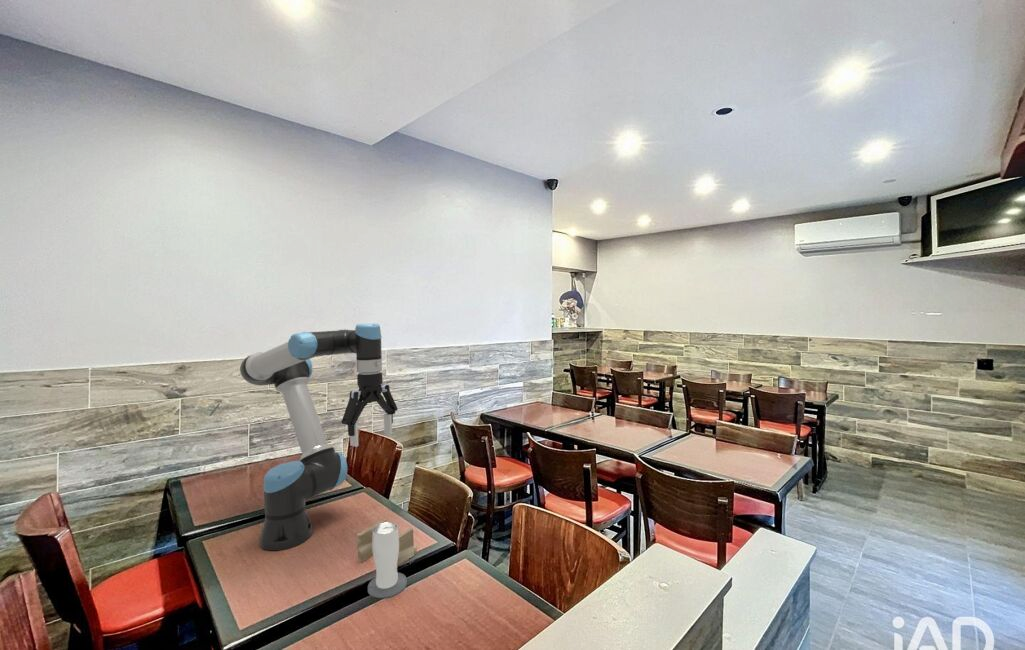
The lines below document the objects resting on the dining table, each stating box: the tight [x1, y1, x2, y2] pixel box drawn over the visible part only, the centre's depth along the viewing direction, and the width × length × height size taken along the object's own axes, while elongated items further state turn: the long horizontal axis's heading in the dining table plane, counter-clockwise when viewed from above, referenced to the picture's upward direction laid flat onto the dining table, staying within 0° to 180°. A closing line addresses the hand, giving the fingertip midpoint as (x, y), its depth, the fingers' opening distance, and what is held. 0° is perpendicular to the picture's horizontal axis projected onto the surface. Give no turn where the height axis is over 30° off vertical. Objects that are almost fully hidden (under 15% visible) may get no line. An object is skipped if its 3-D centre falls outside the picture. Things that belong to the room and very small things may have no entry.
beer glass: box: [372, 521, 400, 591], centre depth 113 cm, size 7×7×15 cm
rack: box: [356, 519, 418, 568], centre depth 126 cm, size 12×11×8 cm
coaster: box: [367, 571, 408, 599], centre depth 113 cm, size 10×10×1 cm
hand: (372, 439), depth 134 cm, fingers open, 13 cm apart
